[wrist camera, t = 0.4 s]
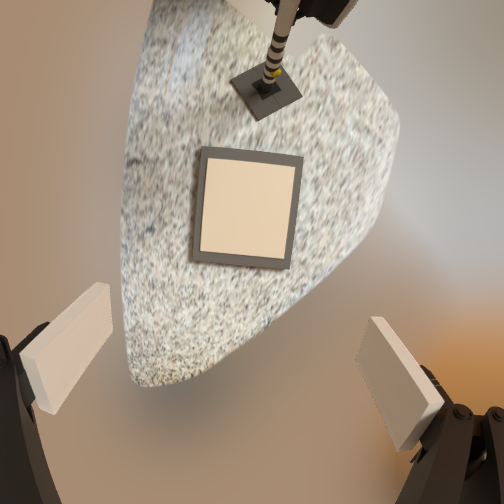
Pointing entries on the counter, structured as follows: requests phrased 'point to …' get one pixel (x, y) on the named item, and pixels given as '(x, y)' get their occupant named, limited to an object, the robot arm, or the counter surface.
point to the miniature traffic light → (271, 72)
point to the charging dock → (246, 207)
